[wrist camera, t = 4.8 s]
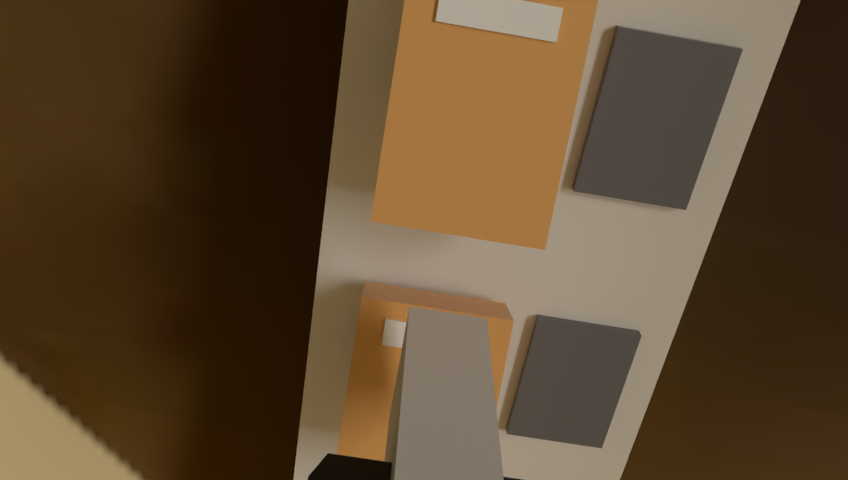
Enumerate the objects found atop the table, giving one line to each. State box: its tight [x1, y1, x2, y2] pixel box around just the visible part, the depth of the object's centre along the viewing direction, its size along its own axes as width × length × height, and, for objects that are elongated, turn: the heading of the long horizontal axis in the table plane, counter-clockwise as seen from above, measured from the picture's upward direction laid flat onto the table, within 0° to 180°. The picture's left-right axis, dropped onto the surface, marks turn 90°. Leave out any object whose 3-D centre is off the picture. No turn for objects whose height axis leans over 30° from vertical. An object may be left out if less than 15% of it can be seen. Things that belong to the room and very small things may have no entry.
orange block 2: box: [337, 281, 514, 461], centre depth 16 cm, size 5×3×2 cm
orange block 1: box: [371, 0, 598, 250], centre depth 13 cm, size 5×3×2 cm
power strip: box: [293, 0, 800, 480], centre depth 18 cm, size 28×9×5 cm, turn 171°
